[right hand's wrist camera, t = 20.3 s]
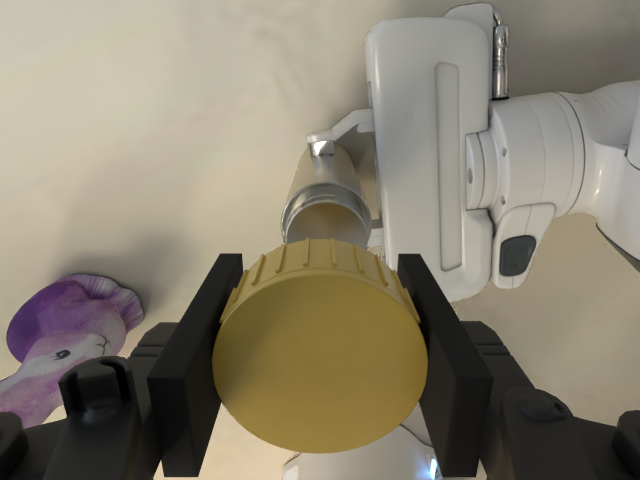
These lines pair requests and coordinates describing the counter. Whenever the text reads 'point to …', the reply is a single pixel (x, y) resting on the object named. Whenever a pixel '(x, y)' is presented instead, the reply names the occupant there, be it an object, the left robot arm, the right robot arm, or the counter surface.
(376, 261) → the lid
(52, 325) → the figurine
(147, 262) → the counter surface
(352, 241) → the bottle
